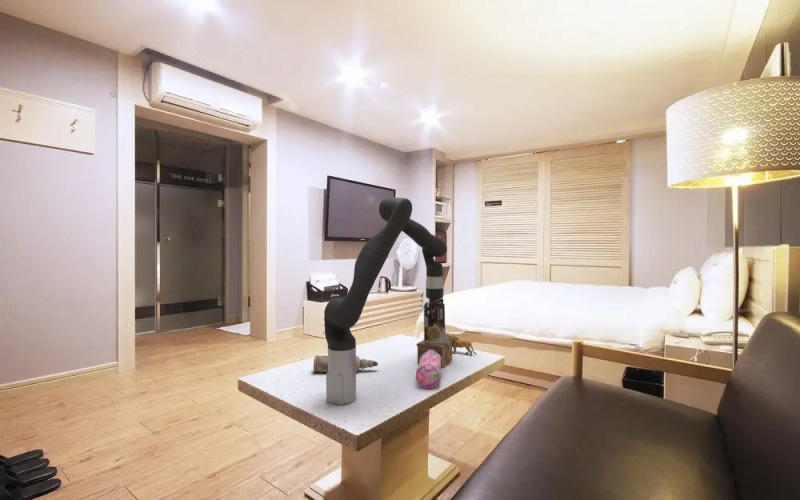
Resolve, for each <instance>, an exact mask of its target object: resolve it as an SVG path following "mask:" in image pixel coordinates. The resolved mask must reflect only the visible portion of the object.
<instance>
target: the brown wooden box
mask: <svg viewBox="0 0 800 500" xmlns="http://www.w3.org/2000/svg"><path fill="white" fill-rule="evenodd" d="M452 342H453V340H447V339H446V342H445V344H425V343H424V339H423V340H421V341H419V342H417V343H416V347H417V349H416V350H417V366H418V365H419V363H420V358H421V356H422V355H423V354H424V353H425V352H427V351H429V350H434V352H437V353H438V354H439V355H440V357H441V370H442V369H443V368H445V367H446V366H447V365H449V364H450V363H451V362H453V347H452Z"/></svg>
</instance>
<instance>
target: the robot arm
mask: <svg viewBox="0 0 800 500" xmlns="http://www.w3.org/2000/svg"><path fill="white" fill-rule="evenodd" d="M412 212H413V204H412V201H411V200H410V199H409V198H406V197H405V198H404V197H391V196H390V197H385V198H383V199H382V200H381V201H380V203H379V206H378V213H379V215H380V217H381V219H382V220H383V221H385V222H386V224H385V226H384V227H383V228H382V229H380V231H379V232H377V233H376V234H374V236H372V237H370V239H368V241H367V242H365V244H363V246H362V248H361V250H360V251H359V254H358V255H357V258H356V260H355V263H354V267H353V269H354V271H353V279H352V283H351V285H350V287H349V289H348V291H347V294H346V295H345V297H343V298H341V297H335V298H332V299H331V300H329V301H328V302H327V304H325V308H324V314H323V315H324V316H323V322H324V324H323V325H324V336H325V340H326V343H327V356H328V372H325V377H326V378H325V383H326V385H325V386H326V390H325V391H326V392H325V393H326V394H325V395H326V403H329V404H330V403H331V404H333V405H337V406H343V405H346V404H350V403H353V402H354V401H356V399H357V372H356V356H357V345H356V344H357V339H356V337H355V336H354V335H353V334H352V332H351V328H353V327H354V326H355V325H356V324H357V323H358V321H359V320H360V318H361V315H362V312H363V310H364V307H365V305H366V302H367V299H368V297H369V295H370V293H371V291H372V289H373V286H374V285H375V283H376V280H377V278H378V276H379V274H380V273H381V271H382V269H383V266H384V265H385V263H386V261H387V259H388V256H389V254H390V252H391V250H392V248H394V245H395V243H396V241H397V240H398V238H399V236H400V234H401V233H402V232H403V234H405V235H406V236H407V237H409V238H410V239H411V240H413V241H414V243H416V244H417V246H419V247H420V248H421V253H422V256H423V259H424V260H423V261H424V263H425V267H426V270H425V271H426V277H425V279H426V280H425V298H426V299H428V302H427V301H426V302H425V303H424V304H425V316H426V317H428V326H430V327H433V316H434V313H436V307H435V308H434V306H438V305H440V304H445V303H444V278H443V276H444V274H443V273H444V272H443V271H444V270H443V269H444V267H443V263H441V262H438V261H436V259H435V258H441V257H444V256H446V254H447V251H448V248H447V247H448V246H447V244H446V242H445V241H444V240H443V239H442V238H440V237H438V236H436V235H434V234H432V233H431V232H430V231H429V230H428V229H427V228H426V227H425V226H424V225H423V224H420V223H419V222H418V221H416V220H414V219H412V218H411V216H412ZM432 307H433V308H434V310H432ZM427 311H428V314H427Z"/></svg>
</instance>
